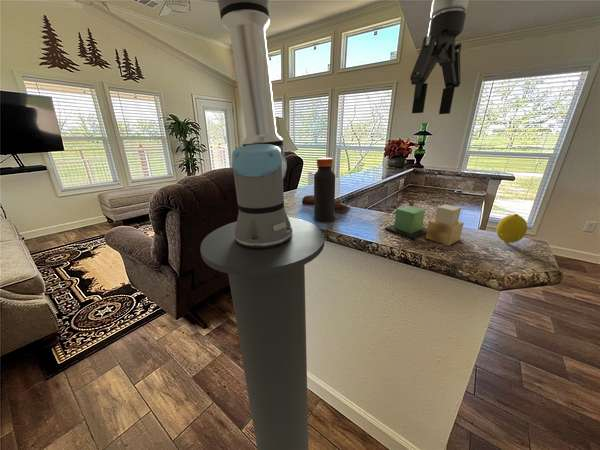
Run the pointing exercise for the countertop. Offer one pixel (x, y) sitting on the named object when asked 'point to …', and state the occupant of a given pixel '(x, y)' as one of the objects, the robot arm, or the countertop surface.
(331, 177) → the bottle
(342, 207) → the sunglasses case
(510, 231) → the lemon
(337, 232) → the countertop surface
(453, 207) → the cream block
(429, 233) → the maple block
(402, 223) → the green block
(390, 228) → the coaster
